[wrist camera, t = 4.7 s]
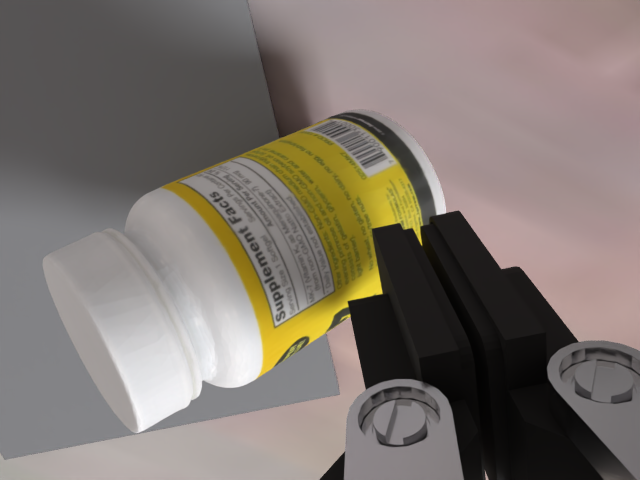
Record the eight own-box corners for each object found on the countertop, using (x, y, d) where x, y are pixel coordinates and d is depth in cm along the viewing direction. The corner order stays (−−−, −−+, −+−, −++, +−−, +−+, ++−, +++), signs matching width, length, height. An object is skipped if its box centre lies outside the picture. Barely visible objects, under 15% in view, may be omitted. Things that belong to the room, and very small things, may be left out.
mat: (219, -117, 14) (218, -119, 14) (338, 387, 21) (339, 394, 21) (-269, -6, 15) (-283, -5, 14) (9, 451, 22) (5, 459, 21)
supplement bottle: (363, 271, 18) (111, 425, 14) (305, 129, 17) (19, 246, 13) (480, 266, 14) (174, 480, 10) (410, 81, 13) (47, 227, 9)
